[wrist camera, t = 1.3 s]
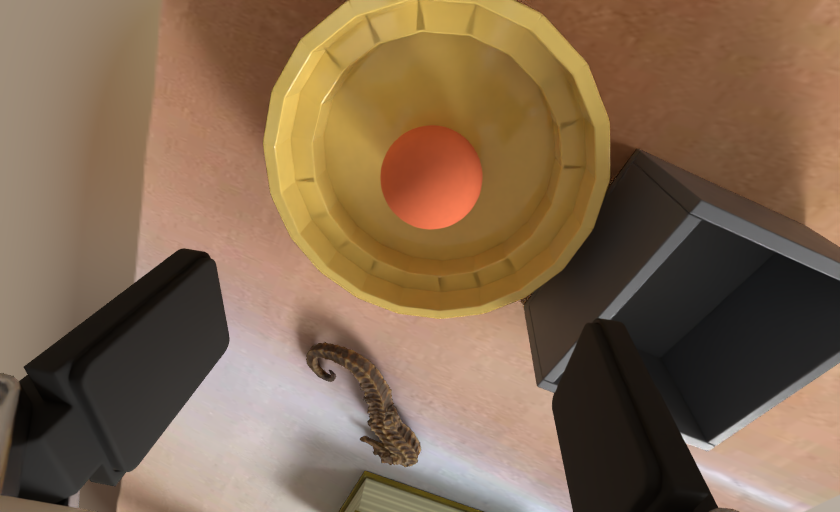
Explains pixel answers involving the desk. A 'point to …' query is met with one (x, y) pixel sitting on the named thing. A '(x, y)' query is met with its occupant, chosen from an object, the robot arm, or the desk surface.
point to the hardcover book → (395, 498)
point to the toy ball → (431, 177)
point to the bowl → (449, 107)
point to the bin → (697, 298)
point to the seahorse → (372, 404)
